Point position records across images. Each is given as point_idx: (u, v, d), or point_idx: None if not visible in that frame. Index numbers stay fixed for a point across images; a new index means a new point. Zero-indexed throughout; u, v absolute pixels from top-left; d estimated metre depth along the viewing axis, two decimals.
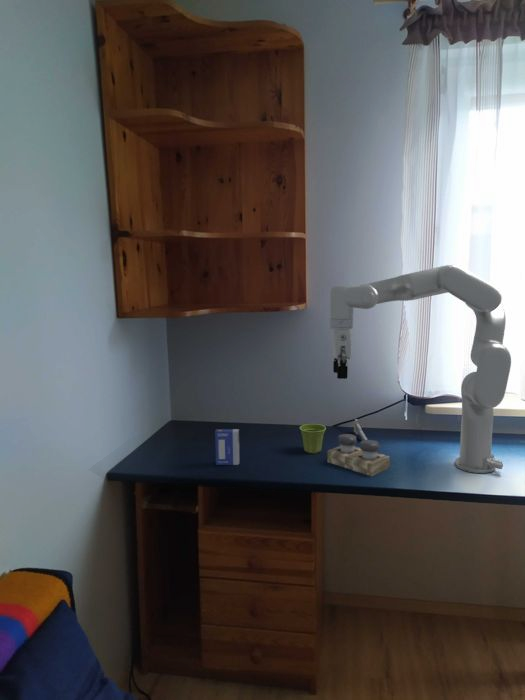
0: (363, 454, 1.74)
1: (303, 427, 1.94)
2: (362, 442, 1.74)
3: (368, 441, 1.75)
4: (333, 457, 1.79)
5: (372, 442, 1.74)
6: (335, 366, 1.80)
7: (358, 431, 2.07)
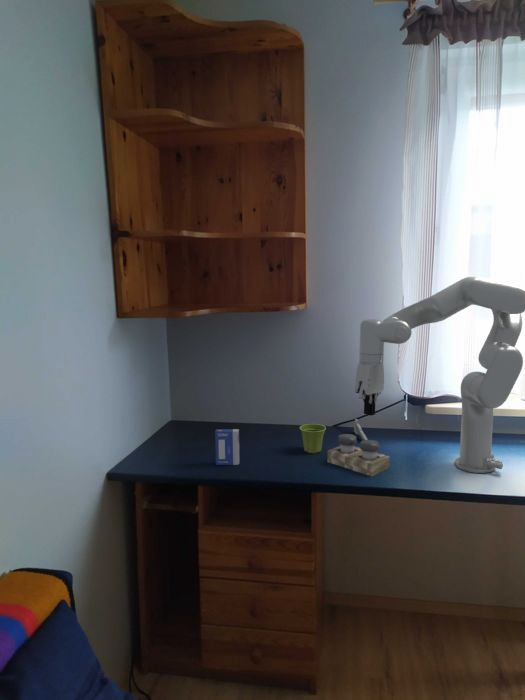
0: (363, 454, 1.74)
1: (303, 427, 1.94)
2: (362, 442, 1.74)
3: (368, 441, 1.75)
4: (333, 457, 1.79)
5: (372, 442, 1.74)
6: None
7: (358, 431, 2.07)
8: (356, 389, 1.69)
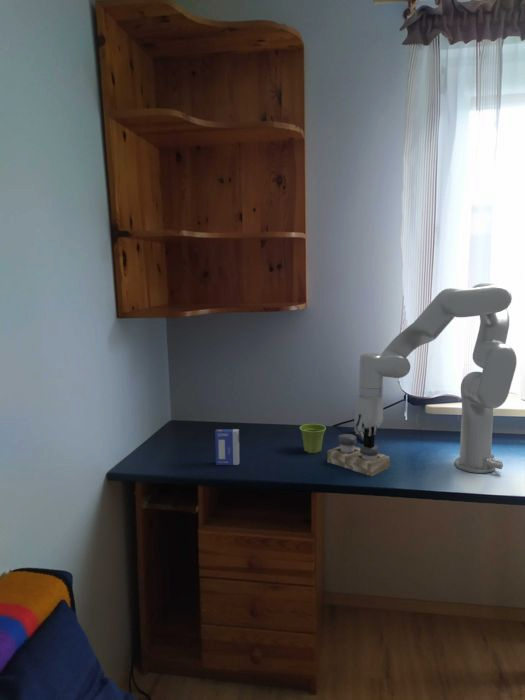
0: (363, 458, 1.74)
1: (303, 427, 1.94)
2: (362, 446, 1.74)
3: None
4: (333, 457, 1.79)
5: None
6: None
7: (358, 431, 2.07)
8: (355, 422, 1.71)
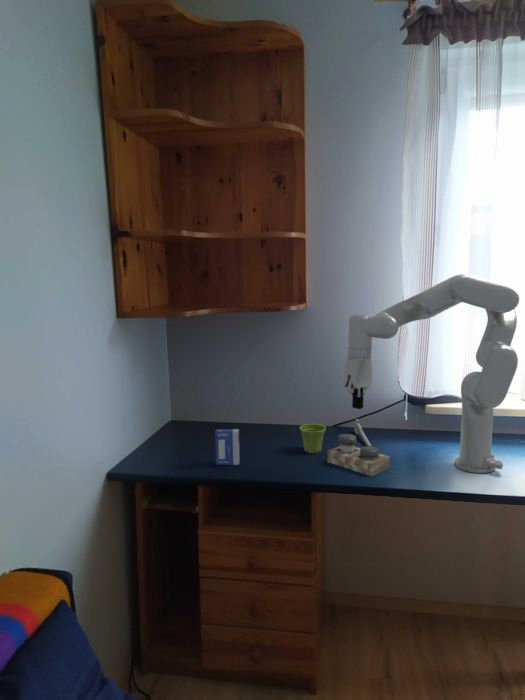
0: None
1: (303, 427, 1.94)
2: (362, 449, 1.74)
3: (368, 447, 1.76)
4: (333, 457, 1.79)
5: (371, 448, 1.75)
6: None
7: (359, 431, 2.07)
8: (345, 383, 1.72)
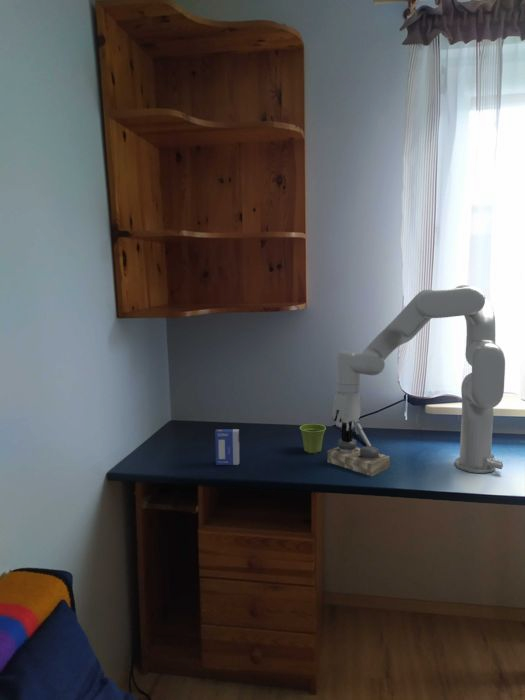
0: None
1: (303, 427, 1.94)
2: (362, 449, 1.74)
3: (368, 447, 1.76)
4: (333, 457, 1.79)
5: (371, 448, 1.75)
6: None
7: (359, 431, 2.07)
8: (333, 417, 1.77)
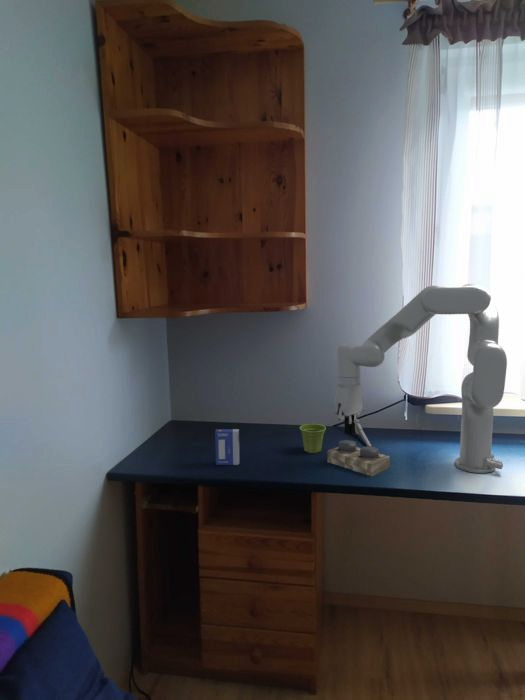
0: None
1: (303, 427, 1.94)
2: (362, 449, 1.74)
3: (368, 447, 1.76)
4: (333, 457, 1.79)
5: (371, 448, 1.75)
6: None
7: (359, 431, 2.07)
8: (336, 411, 1.77)
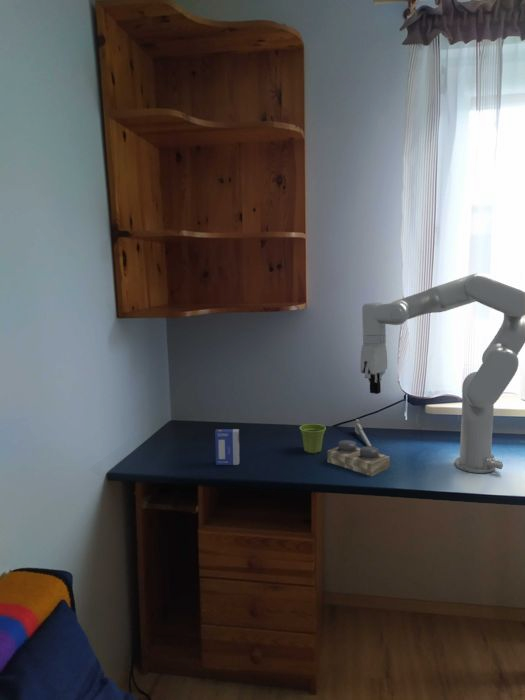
0: None
1: (303, 427, 1.94)
2: (362, 449, 1.74)
3: (368, 447, 1.76)
4: (333, 457, 1.79)
5: (371, 448, 1.75)
6: None
7: (359, 431, 2.07)
8: (362, 369, 1.78)
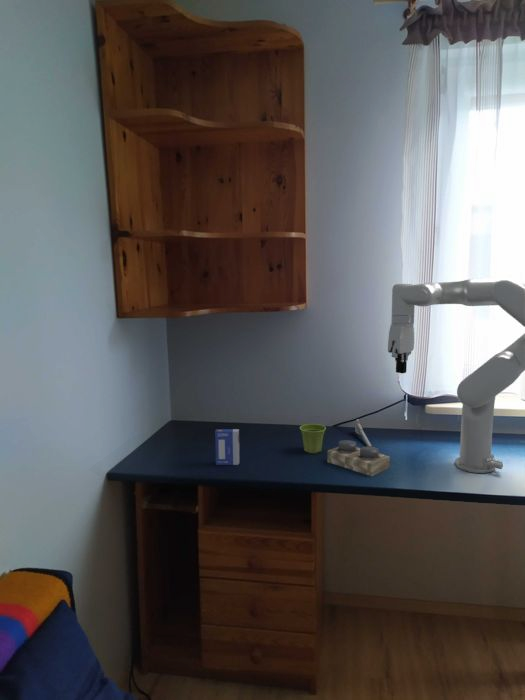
0: None
1: (303, 427, 1.94)
2: (362, 449, 1.74)
3: (368, 447, 1.76)
4: (333, 457, 1.79)
5: (371, 448, 1.75)
6: None
7: (359, 431, 2.07)
8: (389, 348, 1.82)
